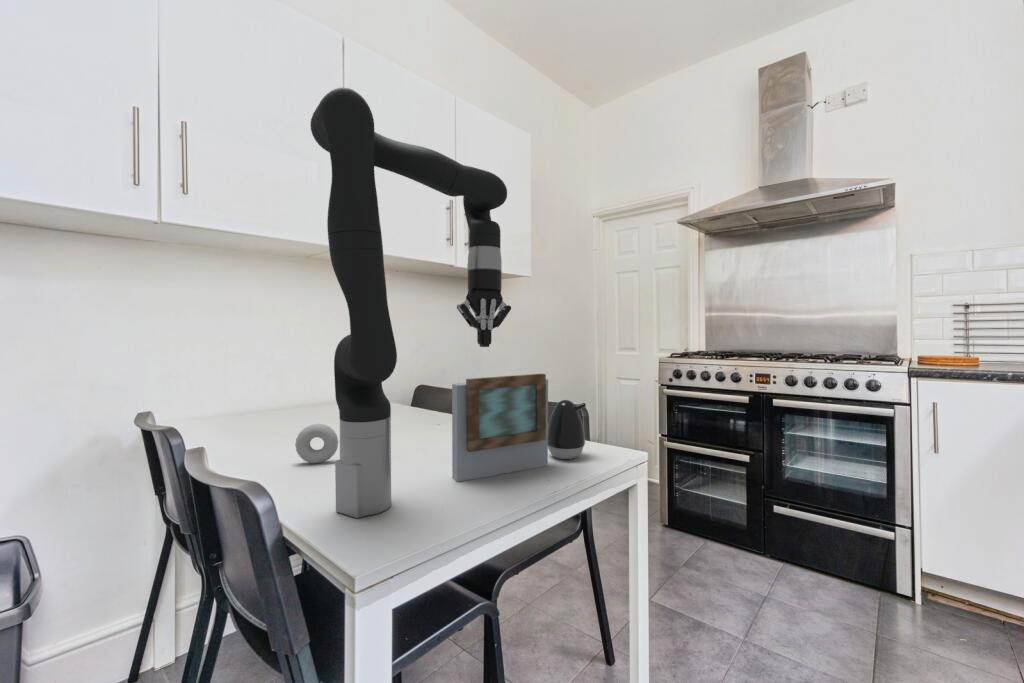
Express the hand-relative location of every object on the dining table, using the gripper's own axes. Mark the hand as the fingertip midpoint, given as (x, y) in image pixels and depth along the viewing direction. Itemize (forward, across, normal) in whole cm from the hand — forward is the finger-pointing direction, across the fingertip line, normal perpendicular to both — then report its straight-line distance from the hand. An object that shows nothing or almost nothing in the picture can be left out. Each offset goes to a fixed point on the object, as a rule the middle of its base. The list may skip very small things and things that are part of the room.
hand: (484, 346), depth 99 cm
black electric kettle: (+30, +26, +5) cm, 40 cm away
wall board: (+30, +6, +3) cm, 31 cm away
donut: (+30, -32, +30) cm, 54 cm away
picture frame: (+23, +6, 0) cm, 24 cm away
